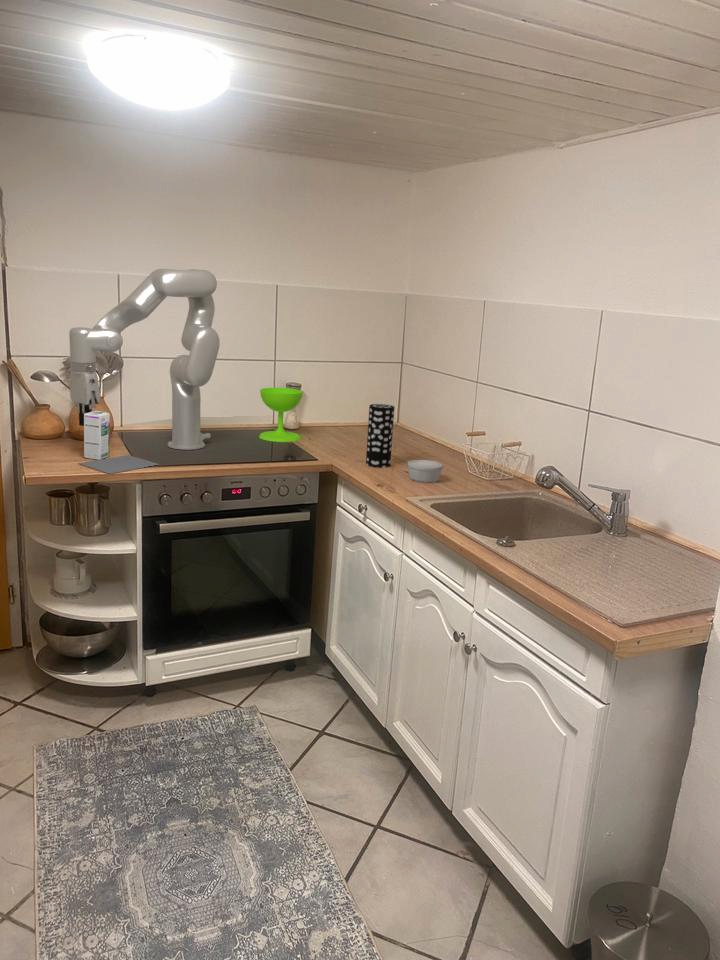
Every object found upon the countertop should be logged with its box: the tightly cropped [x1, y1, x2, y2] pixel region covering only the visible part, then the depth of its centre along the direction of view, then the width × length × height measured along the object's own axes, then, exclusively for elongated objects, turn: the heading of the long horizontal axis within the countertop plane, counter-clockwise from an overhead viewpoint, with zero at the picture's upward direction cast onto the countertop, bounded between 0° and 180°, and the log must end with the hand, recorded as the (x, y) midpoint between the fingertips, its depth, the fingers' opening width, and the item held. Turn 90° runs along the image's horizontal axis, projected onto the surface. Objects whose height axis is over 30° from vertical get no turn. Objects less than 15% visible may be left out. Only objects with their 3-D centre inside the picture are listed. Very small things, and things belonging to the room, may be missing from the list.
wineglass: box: [258, 387, 303, 443], centre depth 284 cm, size 16×16×18 cm
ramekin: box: [407, 459, 443, 484], centre depth 236 cm, size 11×11×5 cm
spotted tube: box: [365, 403, 395, 469], centre depth 250 cm, size 8×8×20 cm
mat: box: [78, 454, 160, 475], centre depth 232 cm, size 18×16×1 cm
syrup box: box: [83, 410, 111, 461], centre depth 237 cm, size 6×6×14 cm
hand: (85, 425), depth 239 cm, fingers closed
